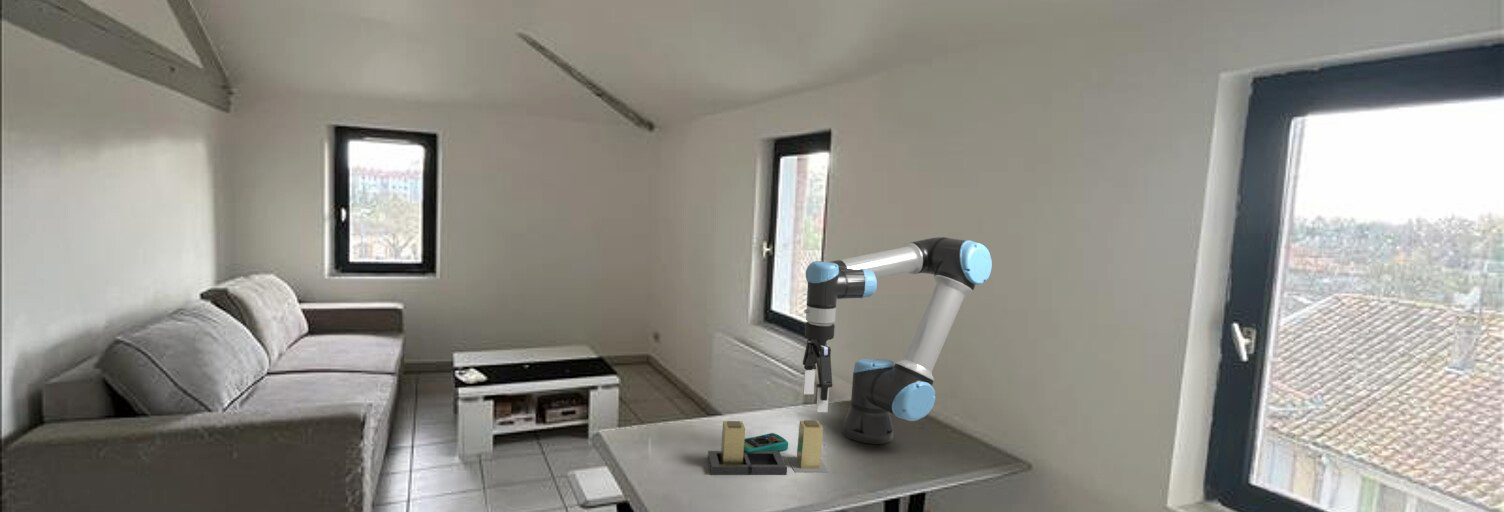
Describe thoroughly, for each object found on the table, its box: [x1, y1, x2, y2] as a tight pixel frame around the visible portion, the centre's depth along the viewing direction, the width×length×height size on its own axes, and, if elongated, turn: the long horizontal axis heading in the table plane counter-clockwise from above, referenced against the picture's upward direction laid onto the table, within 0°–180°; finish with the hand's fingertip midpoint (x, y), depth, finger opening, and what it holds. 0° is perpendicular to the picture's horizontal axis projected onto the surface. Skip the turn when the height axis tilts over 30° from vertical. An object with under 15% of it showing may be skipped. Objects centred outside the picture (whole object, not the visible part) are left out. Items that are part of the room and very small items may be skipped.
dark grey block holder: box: [707, 450, 788, 476], centre depth 174 cm, size 19×10×2 cm, turn 100°
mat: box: [786, 456, 830, 474], centre depth 178 cm, size 9×9×1 cm
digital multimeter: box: [744, 432, 789, 452], centre depth 185 cm, size 7×15×3 cm, turn 127°
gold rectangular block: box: [720, 420, 746, 465], centre depth 173 cm, size 5×5×11 cm
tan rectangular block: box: [796, 419, 824, 469], centre depth 177 cm, size 5×5×11 cm
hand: (814, 402), depth 176 cm, fingers open, 13 cm apart
